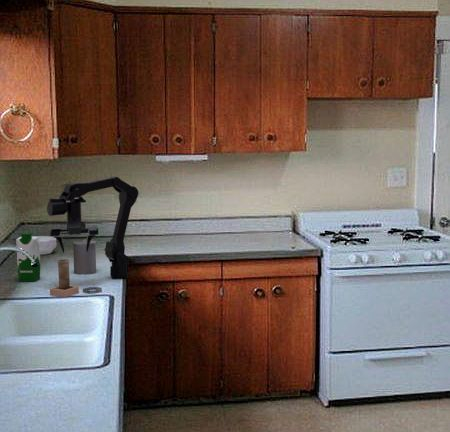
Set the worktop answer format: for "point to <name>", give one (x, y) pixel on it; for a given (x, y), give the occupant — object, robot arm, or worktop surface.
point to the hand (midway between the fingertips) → (75, 252)
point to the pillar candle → (84, 257)
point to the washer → (97, 289)
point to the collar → (64, 291)
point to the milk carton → (23, 262)
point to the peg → (63, 274)
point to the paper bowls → (46, 244)
